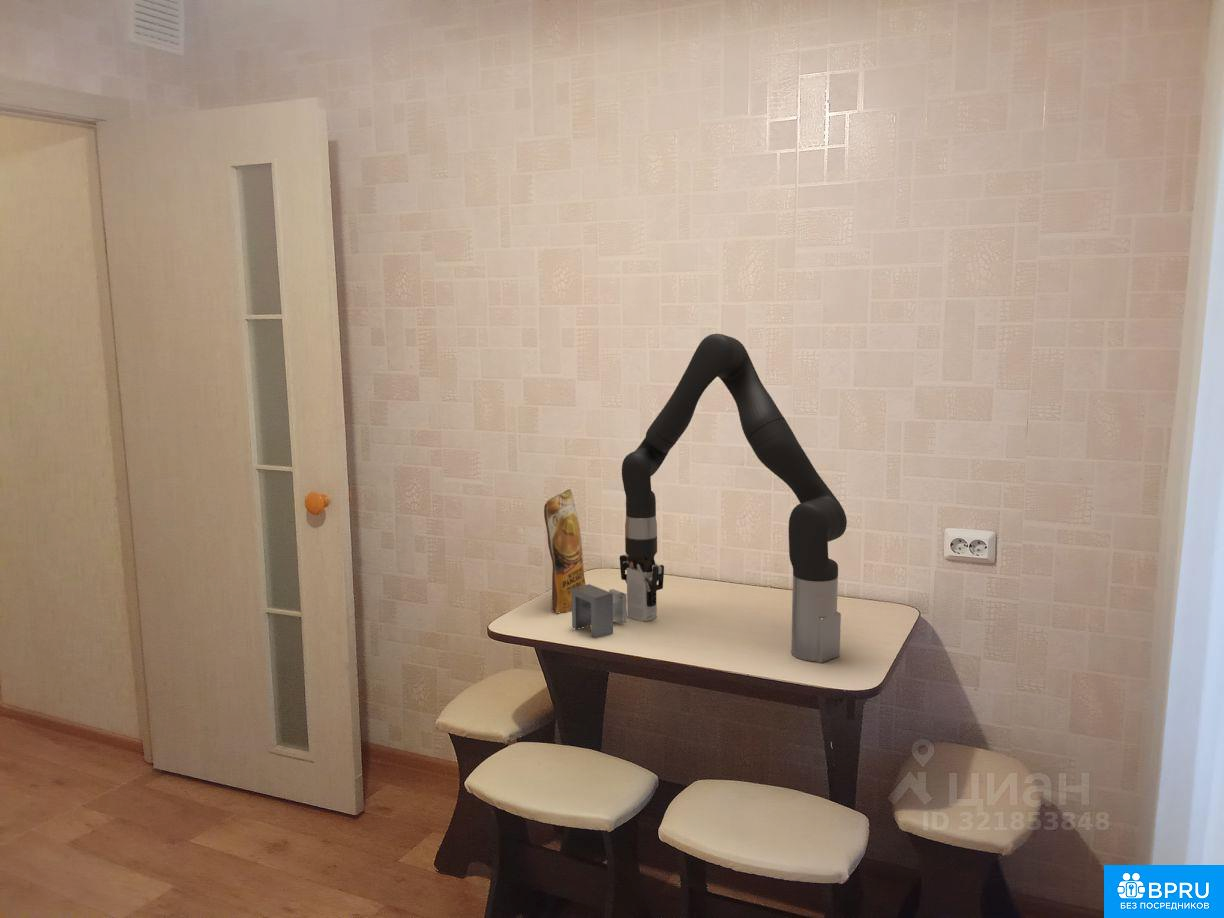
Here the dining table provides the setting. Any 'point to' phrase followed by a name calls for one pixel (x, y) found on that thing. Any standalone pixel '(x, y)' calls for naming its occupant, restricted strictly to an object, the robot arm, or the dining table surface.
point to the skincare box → (638, 596)
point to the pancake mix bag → (564, 549)
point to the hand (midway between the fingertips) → (641, 602)
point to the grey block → (619, 606)
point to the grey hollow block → (592, 610)
